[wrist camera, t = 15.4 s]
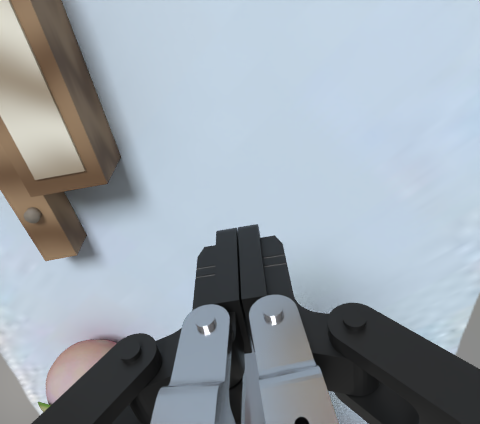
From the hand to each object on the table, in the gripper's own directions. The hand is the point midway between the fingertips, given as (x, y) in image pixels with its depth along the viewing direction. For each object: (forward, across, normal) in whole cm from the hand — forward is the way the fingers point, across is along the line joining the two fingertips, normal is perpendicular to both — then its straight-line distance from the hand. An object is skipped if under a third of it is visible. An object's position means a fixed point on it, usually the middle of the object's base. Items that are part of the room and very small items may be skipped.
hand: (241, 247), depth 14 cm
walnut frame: (+19, +13, -5) cm, 24 cm away
